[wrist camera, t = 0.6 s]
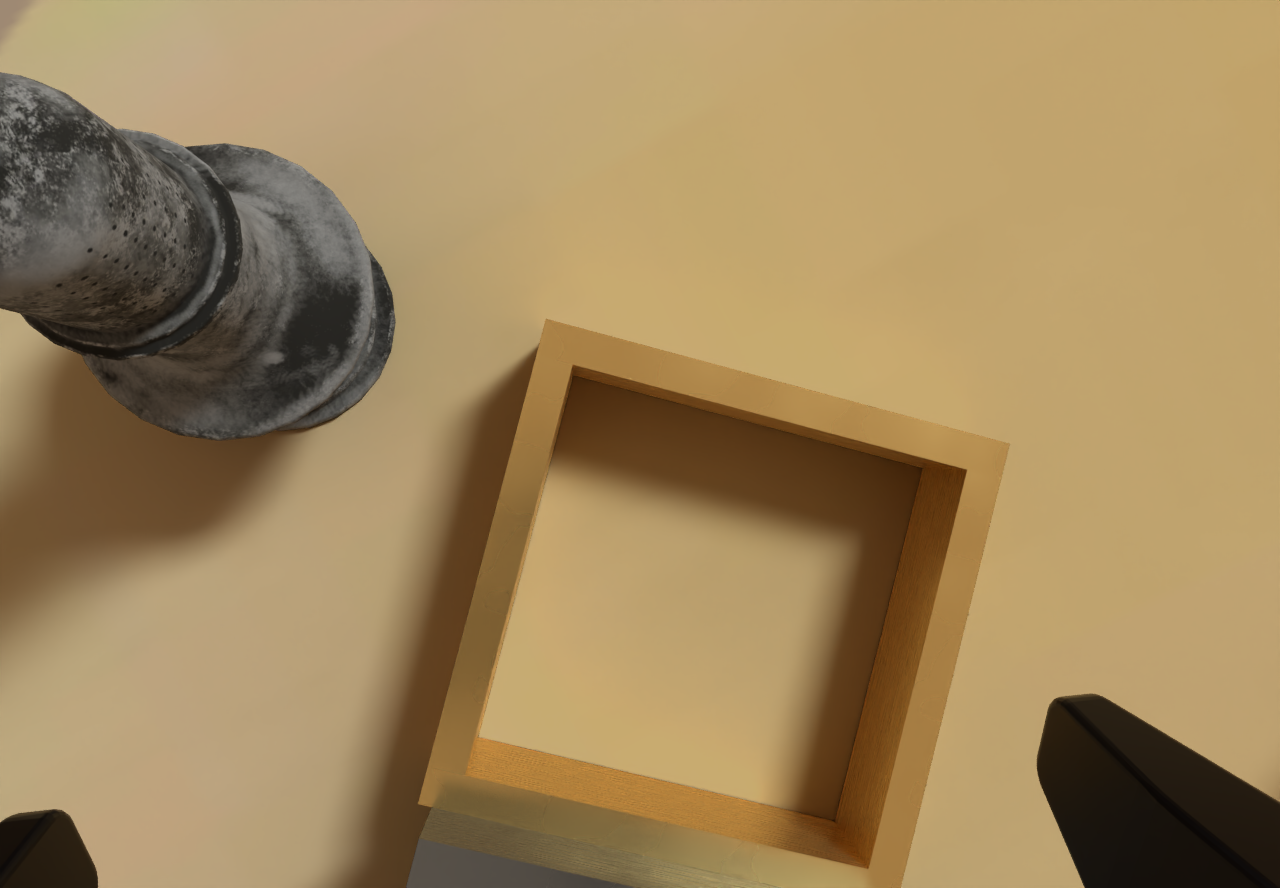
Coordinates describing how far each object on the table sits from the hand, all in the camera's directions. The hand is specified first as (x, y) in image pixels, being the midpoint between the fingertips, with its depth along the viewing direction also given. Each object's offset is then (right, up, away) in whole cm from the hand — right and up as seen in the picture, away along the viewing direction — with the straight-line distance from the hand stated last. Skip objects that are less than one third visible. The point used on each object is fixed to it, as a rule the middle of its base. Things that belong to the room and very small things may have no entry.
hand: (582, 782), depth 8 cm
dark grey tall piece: (-8, +6, +13) cm, 16 cm away
